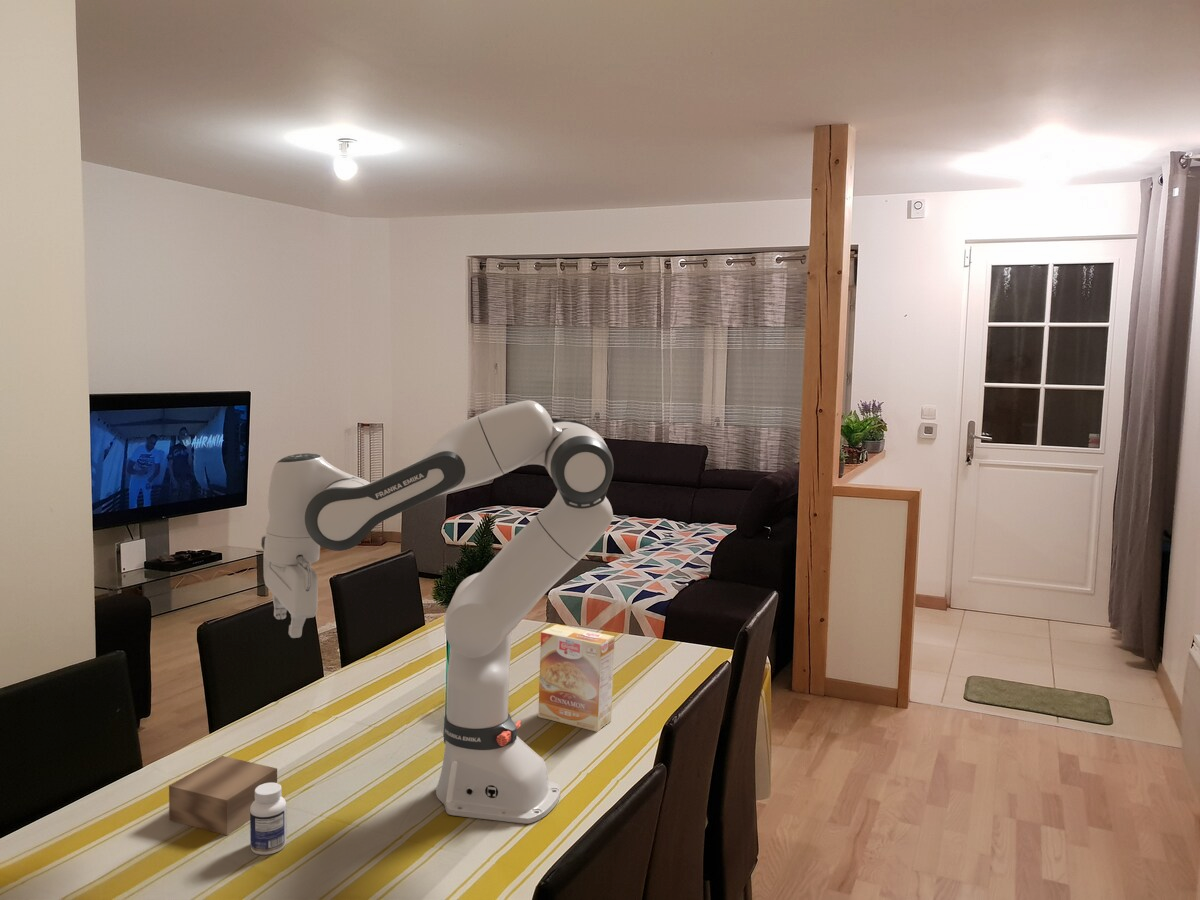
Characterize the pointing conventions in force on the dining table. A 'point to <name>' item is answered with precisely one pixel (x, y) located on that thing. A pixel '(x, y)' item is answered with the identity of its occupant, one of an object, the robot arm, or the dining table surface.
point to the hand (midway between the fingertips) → (287, 627)
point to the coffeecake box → (576, 677)
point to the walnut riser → (218, 794)
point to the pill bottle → (268, 820)
